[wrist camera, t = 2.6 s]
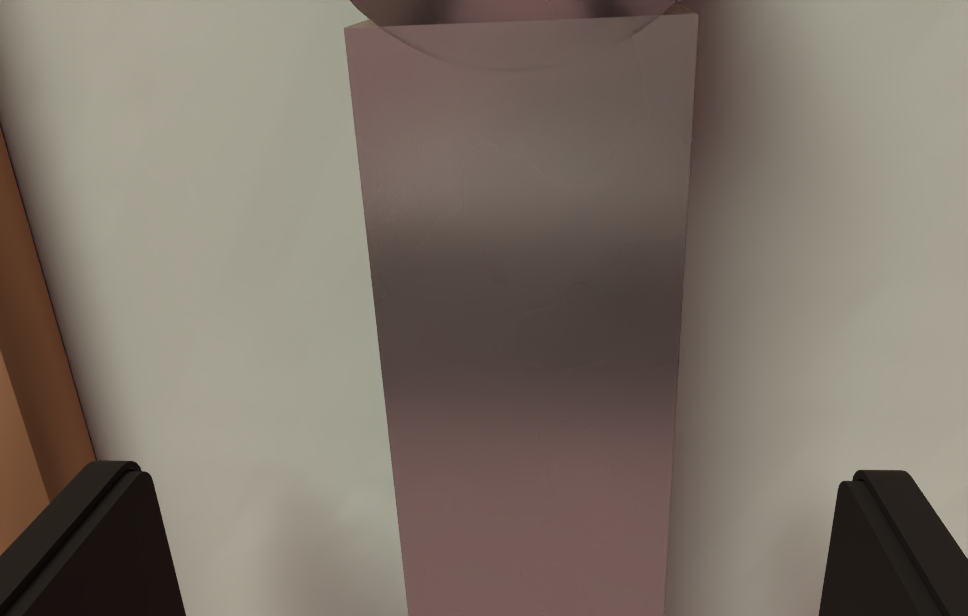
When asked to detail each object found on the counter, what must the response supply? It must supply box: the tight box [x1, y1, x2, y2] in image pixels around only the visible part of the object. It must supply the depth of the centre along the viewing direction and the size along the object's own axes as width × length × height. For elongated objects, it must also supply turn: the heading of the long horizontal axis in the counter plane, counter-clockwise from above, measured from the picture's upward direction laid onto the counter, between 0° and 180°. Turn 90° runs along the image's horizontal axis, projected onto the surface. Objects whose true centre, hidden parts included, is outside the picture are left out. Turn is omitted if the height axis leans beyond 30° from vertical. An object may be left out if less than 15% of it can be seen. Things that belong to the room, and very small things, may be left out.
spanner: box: [344, 0, 699, 616], centre depth 13 cm, size 5×21×4 cm, turn 3°
